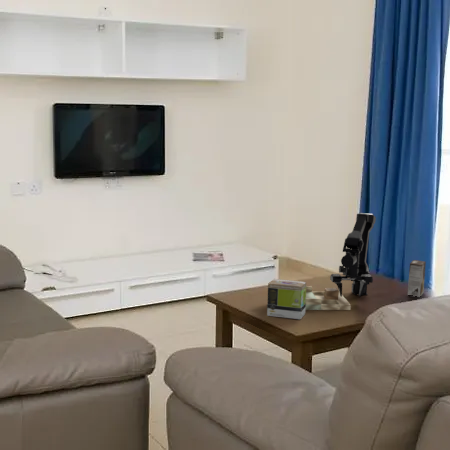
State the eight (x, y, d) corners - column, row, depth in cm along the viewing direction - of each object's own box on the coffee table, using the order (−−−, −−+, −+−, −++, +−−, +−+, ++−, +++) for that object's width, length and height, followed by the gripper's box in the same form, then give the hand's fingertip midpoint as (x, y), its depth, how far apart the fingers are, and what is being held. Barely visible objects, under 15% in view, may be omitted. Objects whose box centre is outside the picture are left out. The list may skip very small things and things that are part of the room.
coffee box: (410, 291, 365) (413, 259, 362) (423, 293, 363) (426, 261, 360) (406, 295, 357) (409, 263, 354) (420, 297, 354) (422, 264, 352)
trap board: (339, 296, 351) (339, 286, 350) (350, 310, 330) (351, 299, 329) (295, 296, 349) (296, 286, 349) (304, 309, 328) (304, 298, 327)
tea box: (305, 314, 322) (307, 281, 319) (300, 320, 312) (301, 286, 310) (272, 309, 326) (273, 277, 324) (266, 316, 317) (267, 282, 314)
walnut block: (335, 296, 342) (336, 288, 342) (338, 299, 337) (338, 291, 336) (324, 296, 342) (324, 287, 341) (326, 299, 337) (326, 291, 336)
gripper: (367, 259, 346) (365, 291, 349) (328, 259, 344) (326, 291, 347) (374, 265, 335) (372, 298, 338) (334, 264, 333) (332, 298, 336)
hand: (350, 296), depth 340 cm, fingers open, 9 cm apart
